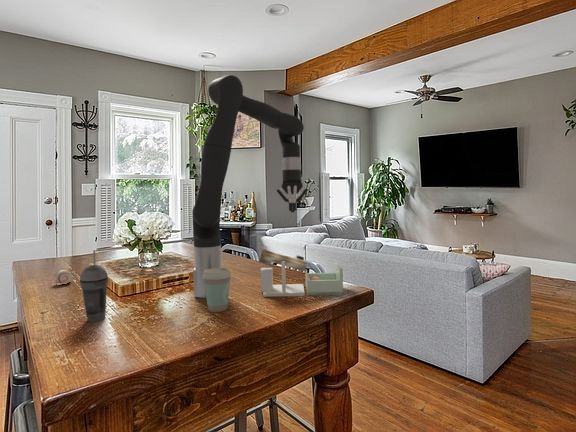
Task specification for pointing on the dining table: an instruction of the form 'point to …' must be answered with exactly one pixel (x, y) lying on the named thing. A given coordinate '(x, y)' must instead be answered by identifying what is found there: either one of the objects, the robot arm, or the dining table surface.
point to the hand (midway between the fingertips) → (292, 212)
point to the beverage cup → (94, 291)
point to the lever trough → (277, 258)
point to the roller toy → (63, 276)
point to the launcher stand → (278, 290)
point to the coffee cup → (217, 288)
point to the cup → (325, 282)
